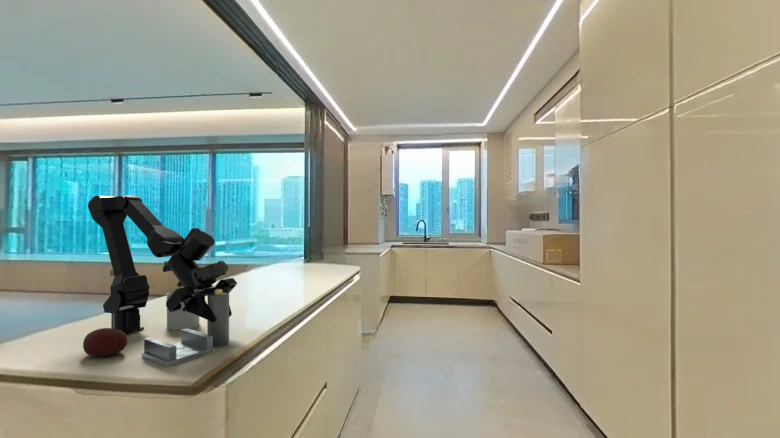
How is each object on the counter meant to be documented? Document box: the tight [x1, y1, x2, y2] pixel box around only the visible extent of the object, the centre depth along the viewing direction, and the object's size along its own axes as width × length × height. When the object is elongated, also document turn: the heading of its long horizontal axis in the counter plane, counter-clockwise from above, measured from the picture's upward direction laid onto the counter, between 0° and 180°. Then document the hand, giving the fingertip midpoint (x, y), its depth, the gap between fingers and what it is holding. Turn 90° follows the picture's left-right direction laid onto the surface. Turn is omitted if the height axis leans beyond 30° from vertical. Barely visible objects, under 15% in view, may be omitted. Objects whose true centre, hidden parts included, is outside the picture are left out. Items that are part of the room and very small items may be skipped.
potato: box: [82, 327, 128, 358], centre depth 87 cm, size 7×10×6 cm
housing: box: [141, 328, 216, 368], centre depth 88 cm, size 11×11×4 cm
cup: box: [166, 290, 200, 331], centre depth 111 cm, size 8×8×10 cm
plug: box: [206, 289, 230, 348], centre depth 96 cm, size 12×5×14 cm, turn 73°
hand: (222, 318), depth 94 cm, fingers closed on plug, 5 cm apart
